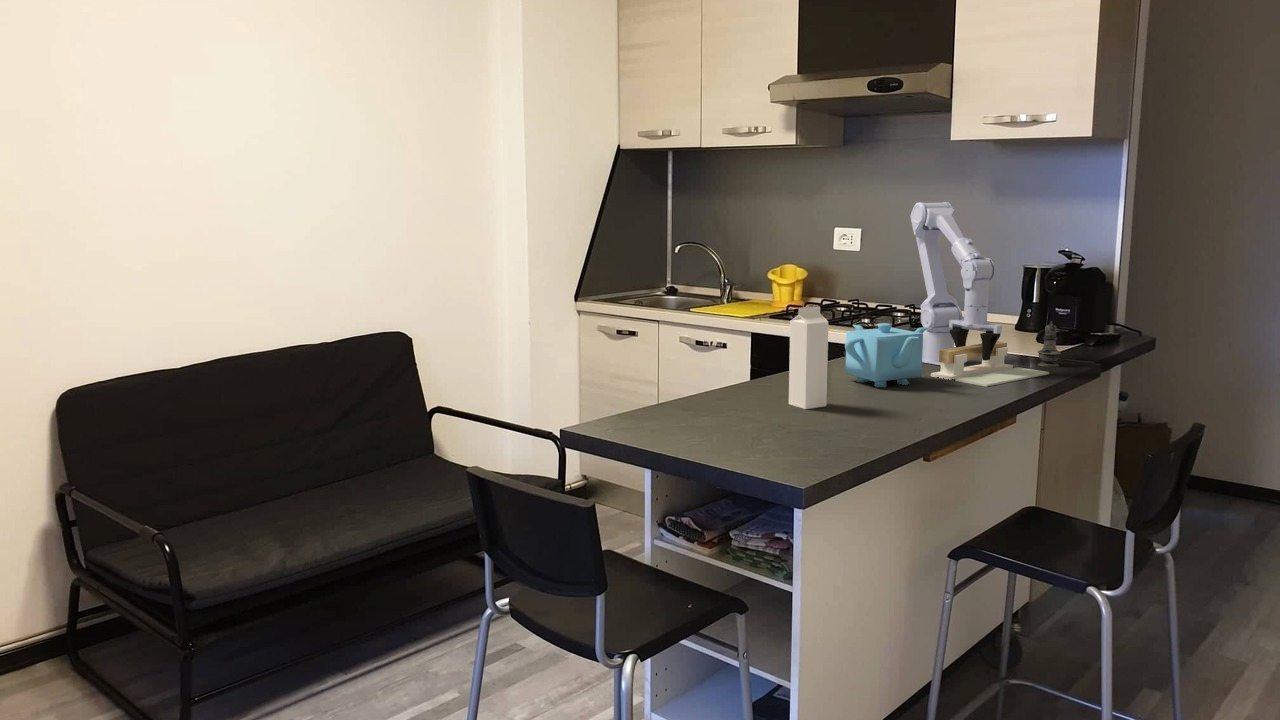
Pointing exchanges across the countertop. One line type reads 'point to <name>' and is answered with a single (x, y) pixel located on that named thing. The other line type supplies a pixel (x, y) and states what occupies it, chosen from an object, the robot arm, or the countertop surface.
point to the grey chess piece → (1049, 347)
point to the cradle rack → (960, 371)
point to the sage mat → (1001, 376)
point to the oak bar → (967, 352)
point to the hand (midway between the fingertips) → (973, 357)
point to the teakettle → (884, 354)
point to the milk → (808, 359)
